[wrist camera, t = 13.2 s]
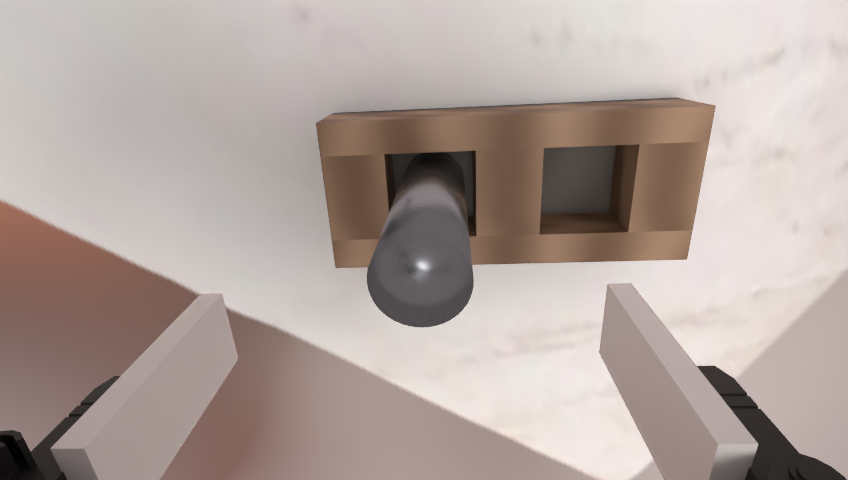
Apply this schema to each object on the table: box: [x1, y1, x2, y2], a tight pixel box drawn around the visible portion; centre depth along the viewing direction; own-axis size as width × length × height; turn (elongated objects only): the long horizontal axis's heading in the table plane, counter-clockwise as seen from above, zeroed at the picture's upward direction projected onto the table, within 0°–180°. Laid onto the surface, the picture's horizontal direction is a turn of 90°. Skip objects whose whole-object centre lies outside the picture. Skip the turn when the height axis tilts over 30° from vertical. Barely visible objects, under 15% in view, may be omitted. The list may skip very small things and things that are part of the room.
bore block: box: [316, 98, 715, 268], centre depth 32 cm, size 24×10×5 cm, turn 93°
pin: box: [367, 152, 474, 327], centre depth 26 cm, size 4×4×16 cm
